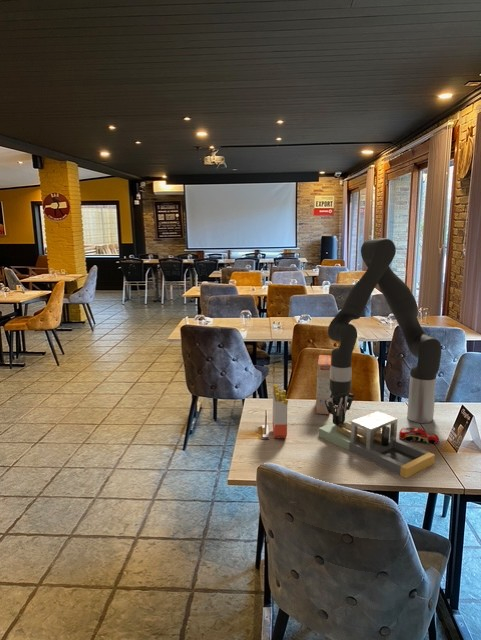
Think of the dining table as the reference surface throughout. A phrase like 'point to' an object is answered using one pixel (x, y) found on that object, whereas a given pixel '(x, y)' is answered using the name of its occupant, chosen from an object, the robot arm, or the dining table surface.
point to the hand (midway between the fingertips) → (338, 422)
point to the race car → (418, 435)
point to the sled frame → (379, 437)
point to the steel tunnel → (373, 426)
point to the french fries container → (279, 413)
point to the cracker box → (323, 384)
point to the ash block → (360, 429)
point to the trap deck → (383, 452)
